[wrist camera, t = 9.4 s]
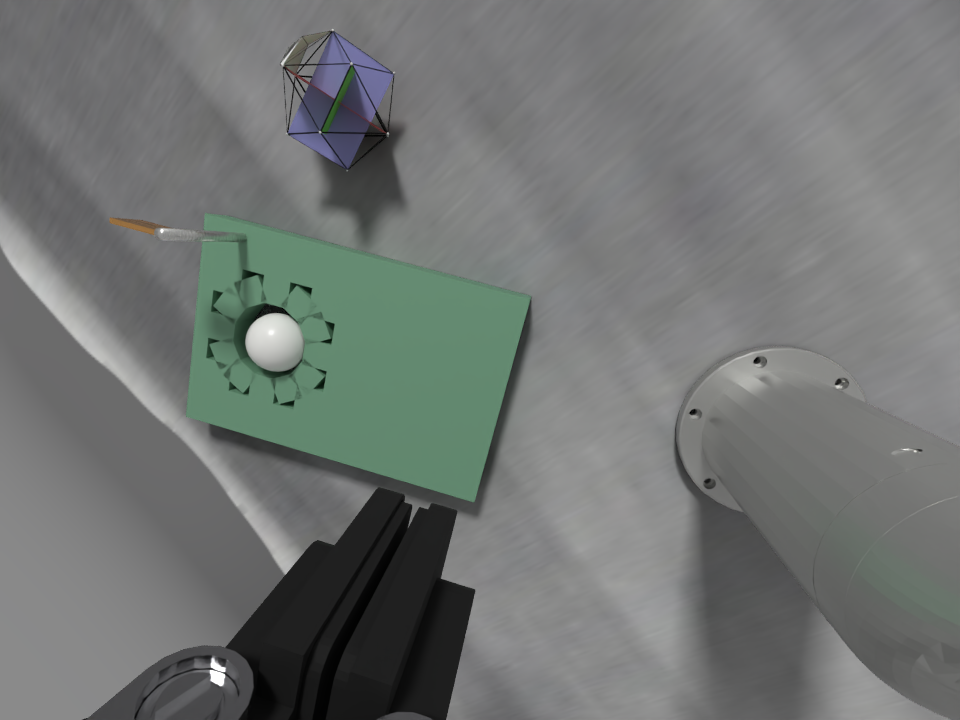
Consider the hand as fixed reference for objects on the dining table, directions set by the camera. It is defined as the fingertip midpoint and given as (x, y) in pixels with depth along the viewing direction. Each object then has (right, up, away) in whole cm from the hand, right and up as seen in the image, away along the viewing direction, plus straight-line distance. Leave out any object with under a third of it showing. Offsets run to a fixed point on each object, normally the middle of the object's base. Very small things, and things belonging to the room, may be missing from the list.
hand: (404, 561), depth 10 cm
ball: (-14, +5, +26) cm, 30 cm away
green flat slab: (-8, +4, +28) cm, 29 cm away
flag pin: (-16, +14, +27) cm, 34 cm away
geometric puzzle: (-7, +21, +24) cm, 33 cm away
